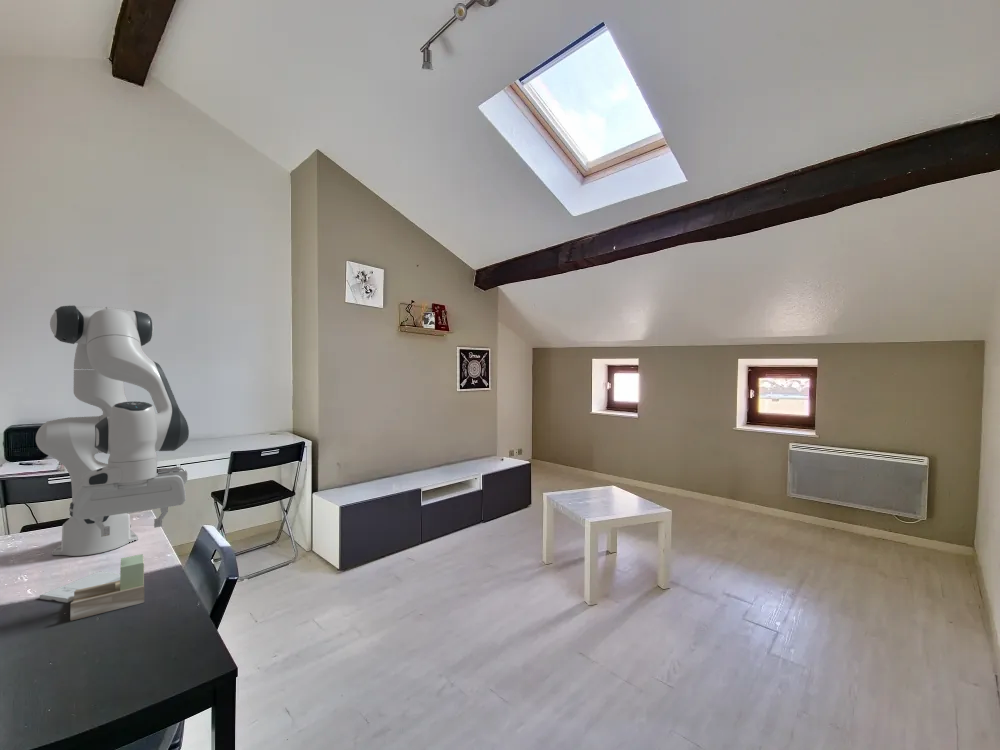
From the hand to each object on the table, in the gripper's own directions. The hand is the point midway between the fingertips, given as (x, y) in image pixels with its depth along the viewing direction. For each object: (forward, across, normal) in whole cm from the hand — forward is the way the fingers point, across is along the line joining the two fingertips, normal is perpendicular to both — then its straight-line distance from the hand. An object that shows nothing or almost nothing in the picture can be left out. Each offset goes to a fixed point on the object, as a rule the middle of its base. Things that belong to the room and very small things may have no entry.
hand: (132, 530), depth 103 cm
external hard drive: (+16, +9, -12) cm, 22 cm away
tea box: (+13, 0, 0) cm, 13 cm away
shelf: (+15, +4, -1) cm, 16 cm away
